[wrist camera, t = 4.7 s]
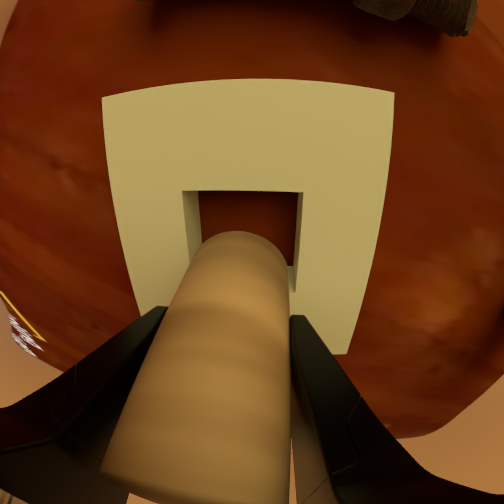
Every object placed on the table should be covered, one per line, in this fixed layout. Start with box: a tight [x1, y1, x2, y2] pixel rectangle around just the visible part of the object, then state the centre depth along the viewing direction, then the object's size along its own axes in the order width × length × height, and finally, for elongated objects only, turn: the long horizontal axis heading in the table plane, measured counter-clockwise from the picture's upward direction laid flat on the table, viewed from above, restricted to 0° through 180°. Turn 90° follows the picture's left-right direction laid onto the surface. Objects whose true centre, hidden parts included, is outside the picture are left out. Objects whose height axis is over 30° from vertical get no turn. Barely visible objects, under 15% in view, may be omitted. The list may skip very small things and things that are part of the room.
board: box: [102, 79, 394, 354], centre depth 14 cm, size 12×14×2 cm
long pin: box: [99, 231, 291, 504], centre depth 7 cm, size 4×4×8 cm
